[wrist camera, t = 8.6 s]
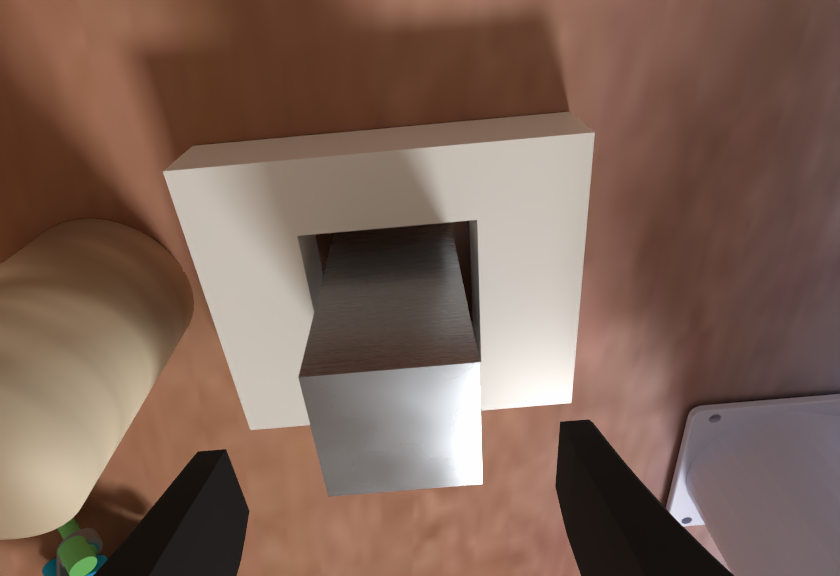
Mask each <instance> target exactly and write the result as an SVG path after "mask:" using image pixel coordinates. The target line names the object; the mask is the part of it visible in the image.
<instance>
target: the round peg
mask: <svg viewBox="0 0 840 576" xmlns="http://www.w3.org/2000/svg"><path fill="white" fill-rule="evenodd" d="M193 310H194V299H193V292H192V288H191V285H190V282H189V280H188V278H187V275H186V274H185V272H184V270H183V269H182V267H181V266H180V264H179V263H178V262H177V260H176V259H175V258H174V257H173V256H172V255H171V254H170V253H169V252H168V251H167V250H166V249H165V248H164V247H163V246H162V245H160V244H159V243H158V242H157V241H155V240H154V239H152V238H151V237H149V236H148V235H146V234H144V233H142V232H140V231H138V230H136V229H134V228H132V227H129V226H127V225H124V224H121V223H117V222H114V221H109V220H104V219H93V218H86V219H75V220H69V221H65V222H62V223H59V224H57V225H55V226H53V227H51V228H49V229H48V230H46V231H45V232H43V233H42V234H41V235H39V236H38V237H37V238H35V239H34V240H33V241H31V242H30V243H29V244H27V245H26V246H25V247H23V248H22V249H20V250H19V251H18V252H16V253H15V254H14V255H12V256H11V257H10V258H8V259H7V260H6V261H4V262H3V263H2V264H0V540H2V539H19V538H27V537H32V536H36V535H41V534H44V533H47V532H50V531H52V530H55V529H56V528H58V527H60V526H62V525H64V524H65V523H67V522H68V521H70V520H71V519H72V518H73V517H74V516H75V515H76V514H77V513H78V512H79V510H80V509H81V507H82V505H83V504H84V502H85V500H86V499H87V497H88V495H89V494H90V492H91V490H92V489H93V487H94V485H95V484H96V482H97V480H98V478H99V477H100V475H101V473H102V472H103V470H104V468H105V467H106V465H107V463H108V461H109V460H110V458H111V456H112V455H113V453H114V451H115V450H116V448H117V446H118V445H119V443H120V441H121V439H122V438H123V436H124V434H125V433H126V431H127V429H128V428H129V426H130V424H131V422H132V421H133V419H134V417H135V416H136V414H137V412H138V411H139V409H140V407H141V406H142V404H143V402H144V400H145V399H146V397H147V395H148V394H149V392H150V390H151V389H152V387H153V385H154V383H155V382H156V380H157V378H158V377H159V375H160V373H161V372H162V370H163V368H164V366H165V365H166V363H167V361H168V360H169V358H170V356H171V355H172V353H173V351H174V350H175V348H176V346H177V344H178V343H179V341H180V339H181V338H182V336H183V334H184V333H185V331H186V329H187V327H188V326H189V324H190V321H191V319H192V315H193Z"/></svg>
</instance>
